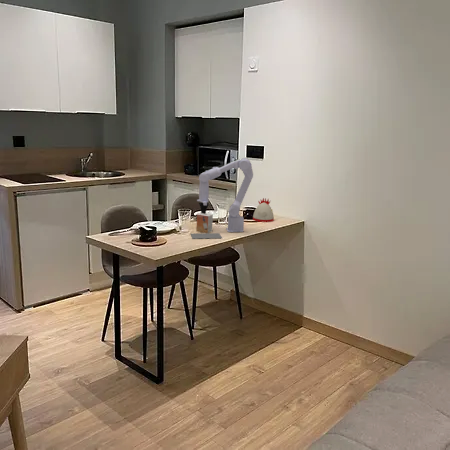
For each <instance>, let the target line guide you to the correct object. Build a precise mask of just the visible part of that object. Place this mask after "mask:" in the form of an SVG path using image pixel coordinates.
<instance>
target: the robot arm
mask: <svg viewBox="0 0 450 450" xmlns="http://www.w3.org/2000/svg"><path fill="white" fill-rule="evenodd" d="M232 169H237V170H239V169H240V170H241V171H242V174H243V176H244V178H243V180H242V182H241V185H240V188H239V189H238V192H237V194H236V196H235V199H234V202H233V203H232V204H231V205H230V206H229V209H228V214H227V227H226V228H225V229H226V230H227V232H228V233H244V226H245V219H244V216H241V214H240V210H241V205H242V203H243V200H244V199H245V196H246V194H247V191H248V189H249V187H250V184H251V183H252V180H253V178H254V172H253V166H252V163H251V161H250V160H249V158H246V157H243V158H241V159H237V160H234V161H231V162H229V163H227V164H224V165H223V166H220V167H219V166H213V167H212V168H211V169H208V170H205V171H204V172H202V173H200V174H199V176H198V180H199V186H198V199H196V202H198V205H199V208H200V212H201V213H204V214H207V210H208V206H209V202H210V200H209V199H210V198H209V194H210V193H209V192H210V185H209V180H210V181H212V180H214V179H216V178H218V177H220V176H221V175H222V173H224V172H226V171H230V170H232Z"/></svg>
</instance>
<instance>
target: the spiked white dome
mask: <svg viewBox="0 0 450 450" xmlns="http://www.w3.org/2000/svg"><path fill="white" fill-rule="evenodd" d="M269 199H270V198H264V197H263V198H262V199H260V200H258V205H257V206H256V208H255V210H254V212H253V215H252V220H253V221H255V222H258V223H271V222H274V221H275V220H274V216H275V215H274V211H273V209H272V207H271V206H270V203H271V201H269Z"/></svg>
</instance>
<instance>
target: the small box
mask: <svg viewBox="0 0 450 450" xmlns="http://www.w3.org/2000/svg"><path fill="white" fill-rule="evenodd" d="M213 218H214V215H213V214H209V213H206V214H204V213H197V214H196V229H195V230H196V232H200V233H213Z"/></svg>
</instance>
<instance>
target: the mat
mask: <svg viewBox="0 0 450 450" xmlns="http://www.w3.org/2000/svg"><path fill="white" fill-rule="evenodd" d="M190 236H191V239H192V240H208V239H209V240H212V239H213V240H215V239H216V240H217V239H218V240H222V239H223V237H222V236H221V234H220V233H219V232H216V233H215V232H209V233H204V232H200V233H196V232H195V233H190ZM221 238H222V239H221Z"/></svg>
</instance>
